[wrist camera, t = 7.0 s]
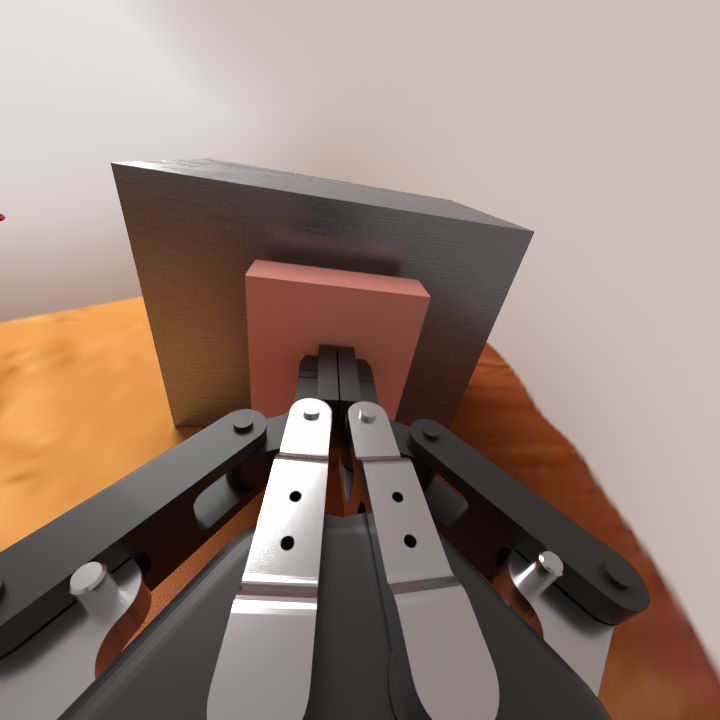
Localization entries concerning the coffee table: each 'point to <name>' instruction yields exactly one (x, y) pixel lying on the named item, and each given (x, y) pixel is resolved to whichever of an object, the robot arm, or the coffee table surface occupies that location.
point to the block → (309, 248)
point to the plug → (328, 327)
